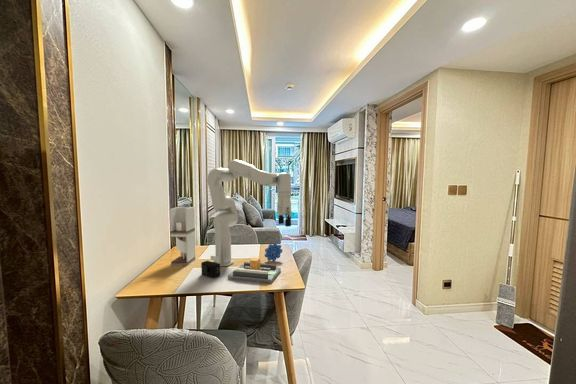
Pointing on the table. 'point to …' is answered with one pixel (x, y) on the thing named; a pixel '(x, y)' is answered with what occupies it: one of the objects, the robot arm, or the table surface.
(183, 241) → the display case
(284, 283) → the table surface
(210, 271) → the digital camera
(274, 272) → the panel
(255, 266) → the toggle
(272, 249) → the grapes
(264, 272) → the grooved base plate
